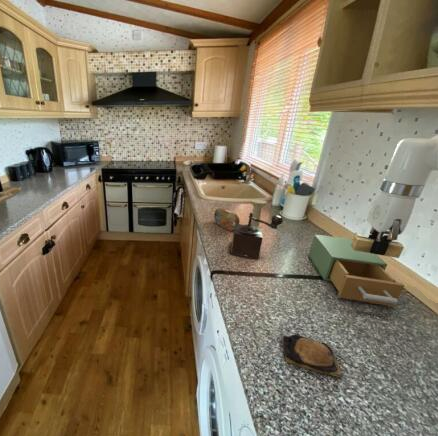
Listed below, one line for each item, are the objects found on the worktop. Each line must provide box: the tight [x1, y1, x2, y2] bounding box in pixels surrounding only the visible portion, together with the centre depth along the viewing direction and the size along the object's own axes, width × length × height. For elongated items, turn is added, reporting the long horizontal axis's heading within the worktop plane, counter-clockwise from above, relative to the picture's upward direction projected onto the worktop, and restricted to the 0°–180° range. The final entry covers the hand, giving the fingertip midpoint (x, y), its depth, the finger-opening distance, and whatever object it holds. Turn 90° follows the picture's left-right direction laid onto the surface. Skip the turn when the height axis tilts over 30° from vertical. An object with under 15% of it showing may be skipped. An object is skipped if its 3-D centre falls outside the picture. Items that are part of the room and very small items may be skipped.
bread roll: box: [280, 333, 343, 378], centre depth 55 cm, size 11×8×4 cm
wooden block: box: [351, 234, 405, 259], centre depth 69 cm, size 10×3×4 cm, turn 65°
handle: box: [250, 199, 267, 227], centre depth 112 cm, size 5×6×15 cm
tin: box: [213, 208, 241, 231], centre depth 118 cm, size 15×3×8 cm, turn 25°
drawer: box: [329, 259, 406, 307], centre depth 74 cm, size 20×13×7 cm, turn 164°
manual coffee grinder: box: [230, 212, 284, 260], centre depth 94 cm, size 16×11×18 cm
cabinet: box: [308, 234, 388, 282], centre depth 85 cm, size 17×15×9 cm
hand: (374, 250), depth 69 cm, fingers closed on wooden block, 3 cm apart
